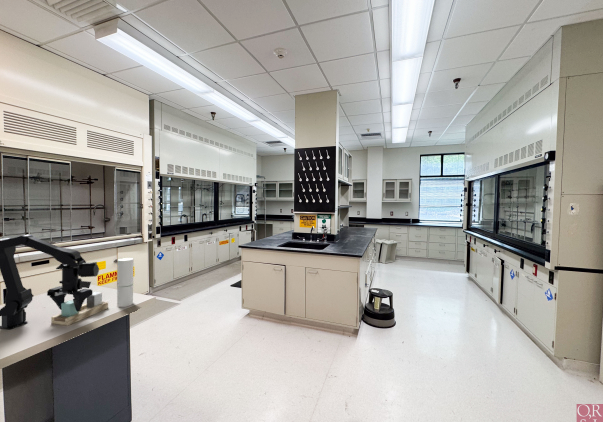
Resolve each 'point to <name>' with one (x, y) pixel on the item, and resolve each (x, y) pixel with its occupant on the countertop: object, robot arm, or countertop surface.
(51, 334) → the countertop surface
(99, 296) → the grey rectangular block
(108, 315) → the countertop surface
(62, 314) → the teal block
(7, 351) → the countertop surface
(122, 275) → the cylindrical container
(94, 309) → the wooden tray
